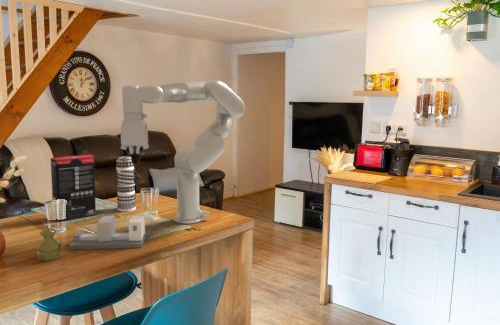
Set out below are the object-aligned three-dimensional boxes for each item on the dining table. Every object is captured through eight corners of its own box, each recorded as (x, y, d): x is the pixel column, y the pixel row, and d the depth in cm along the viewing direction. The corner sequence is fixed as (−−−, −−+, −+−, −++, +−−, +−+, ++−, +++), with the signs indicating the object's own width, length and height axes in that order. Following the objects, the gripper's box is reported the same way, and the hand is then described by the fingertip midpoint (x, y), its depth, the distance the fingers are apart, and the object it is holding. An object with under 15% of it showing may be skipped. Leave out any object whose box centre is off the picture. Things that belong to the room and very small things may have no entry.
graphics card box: (91, 211, 197) (87, 153, 192) (97, 214, 192) (94, 155, 187) (52, 219, 185) (48, 157, 180) (58, 222, 180) (54, 159, 176)
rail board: (146, 235, 164) (146, 213, 163) (141, 247, 151) (140, 223, 150) (80, 237, 162) (78, 215, 160) (69, 249, 149) (67, 225, 147)
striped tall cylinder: (140, 207, 205) (139, 156, 201) (128, 212, 196) (126, 158, 192) (125, 205, 208) (123, 155, 204) (112, 210, 199) (110, 157, 195)
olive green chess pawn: (59, 260, 139) (57, 231, 137) (34, 262, 137) (32, 232, 136) (64, 252, 146) (62, 224, 144) (40, 254, 144) (38, 225, 143)
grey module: (115, 234, 160) (114, 216, 159) (110, 241, 152) (109, 223, 151) (103, 234, 160) (102, 216, 159) (97, 242, 151) (96, 223, 150)
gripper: (153, 116, 170) (155, 161, 173) (115, 117, 169) (118, 162, 172) (151, 117, 163) (153, 164, 166) (111, 118, 161) (114, 165, 164)
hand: (135, 163), depth 169 cm, fingers closed
